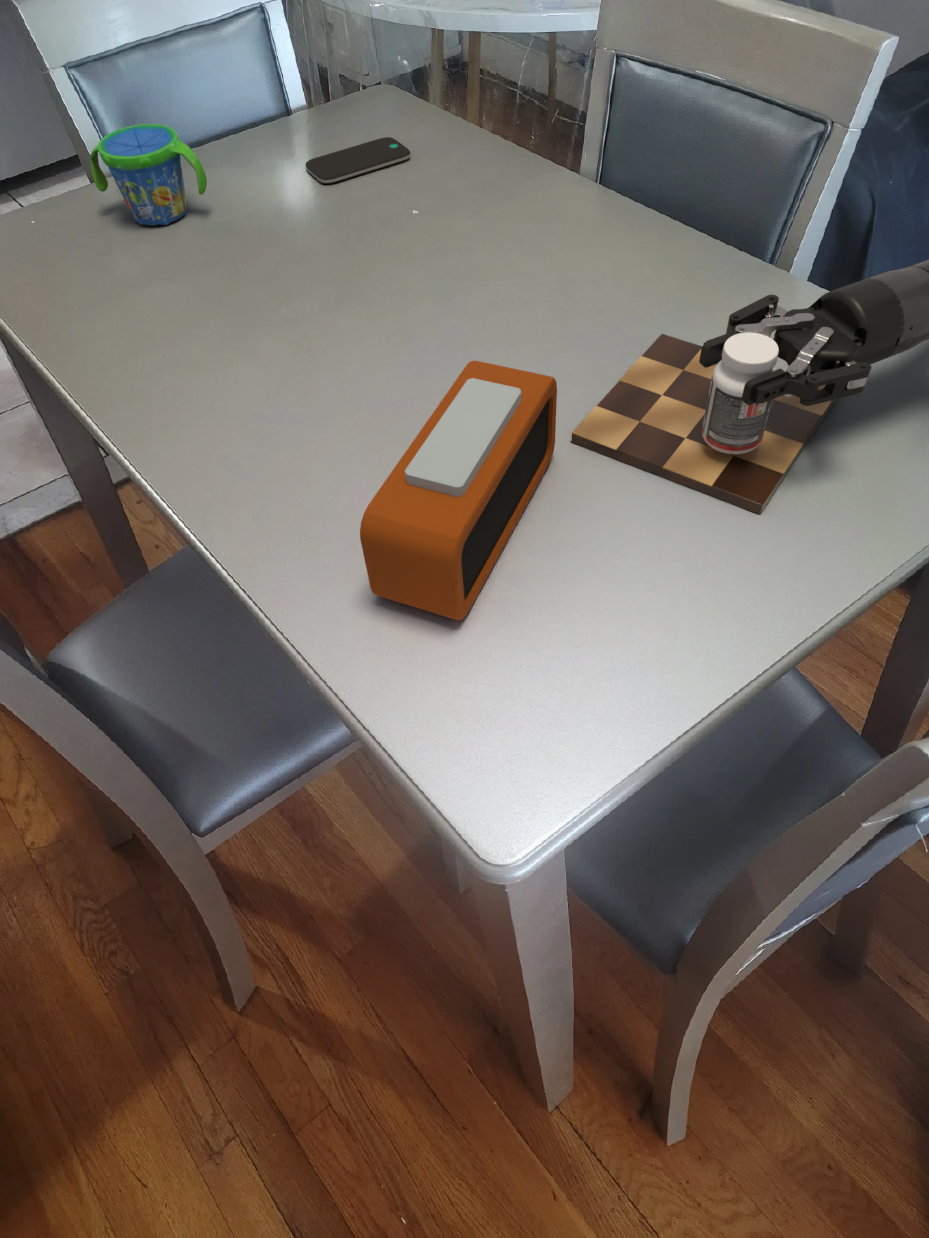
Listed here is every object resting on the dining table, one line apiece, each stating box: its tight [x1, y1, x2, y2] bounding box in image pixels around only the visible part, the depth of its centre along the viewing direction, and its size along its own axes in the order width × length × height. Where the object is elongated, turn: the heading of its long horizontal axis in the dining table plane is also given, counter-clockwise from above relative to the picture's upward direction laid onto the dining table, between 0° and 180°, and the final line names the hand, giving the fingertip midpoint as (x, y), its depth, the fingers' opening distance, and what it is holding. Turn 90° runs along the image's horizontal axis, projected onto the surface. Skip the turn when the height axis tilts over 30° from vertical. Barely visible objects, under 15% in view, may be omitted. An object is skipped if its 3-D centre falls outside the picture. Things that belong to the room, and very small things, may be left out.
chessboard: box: [570, 333, 836, 515], centre depth 88 cm, size 20×20×1 cm
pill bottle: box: [702, 332, 779, 454], centre depth 79 cm, size 6×6×10 cm
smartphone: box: [305, 136, 411, 185], centre depth 129 cm, size 8×1×15 cm
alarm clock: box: [359, 360, 558, 621], centre depth 76 cm, size 24×8×11 cm, turn 157°
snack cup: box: [89, 123, 208, 226], centre depth 118 cm, size 16×10×10 cm
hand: (724, 375), depth 76 cm, fingers closed on pill bottle, 5 cm apart
